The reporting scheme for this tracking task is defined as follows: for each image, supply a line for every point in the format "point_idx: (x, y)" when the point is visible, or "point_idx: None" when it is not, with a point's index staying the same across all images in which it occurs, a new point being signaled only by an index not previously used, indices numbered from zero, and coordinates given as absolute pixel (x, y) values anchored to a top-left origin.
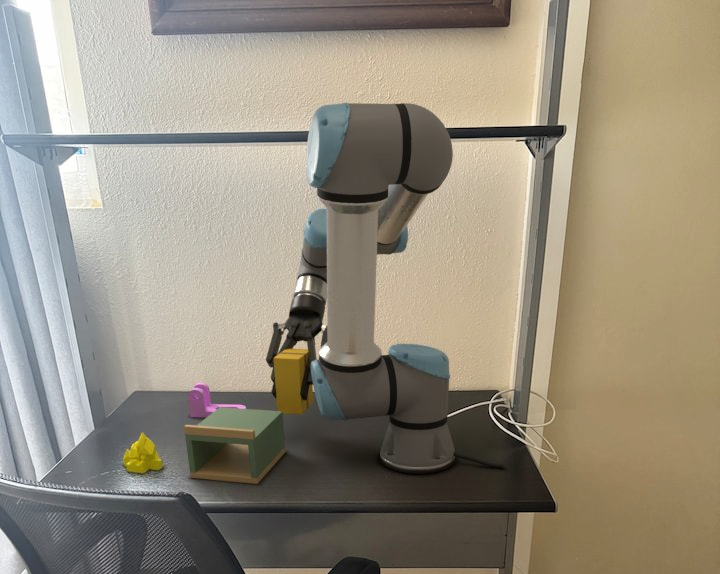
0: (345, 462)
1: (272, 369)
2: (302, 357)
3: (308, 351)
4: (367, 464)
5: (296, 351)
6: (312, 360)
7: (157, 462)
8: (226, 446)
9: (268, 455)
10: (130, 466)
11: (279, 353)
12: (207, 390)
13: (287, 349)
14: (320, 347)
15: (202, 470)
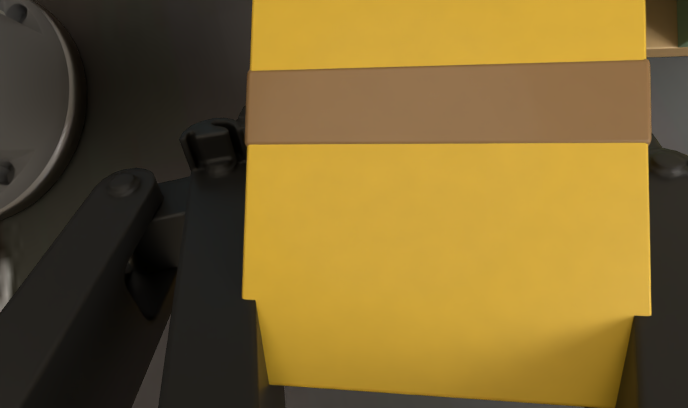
0: (190, 33)
1: (659, 145)
2: (256, 5)
3: (243, 276)
4: (121, 35)
5: (415, 238)
6: (211, 194)
7: None
8: (666, 5)
9: None
10: None
11: (648, 72)
12: None
13: (608, 343)
14: (53, 346)
15: None
